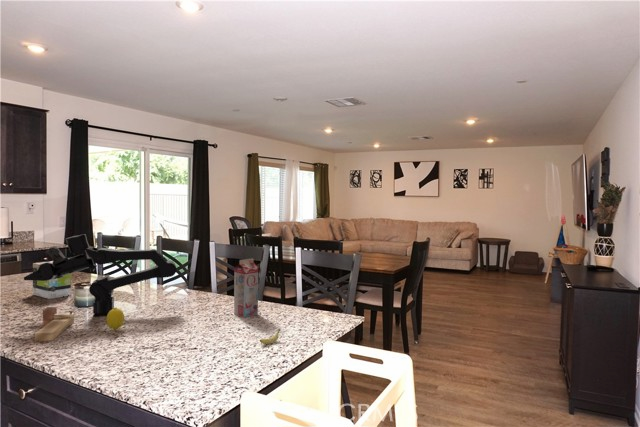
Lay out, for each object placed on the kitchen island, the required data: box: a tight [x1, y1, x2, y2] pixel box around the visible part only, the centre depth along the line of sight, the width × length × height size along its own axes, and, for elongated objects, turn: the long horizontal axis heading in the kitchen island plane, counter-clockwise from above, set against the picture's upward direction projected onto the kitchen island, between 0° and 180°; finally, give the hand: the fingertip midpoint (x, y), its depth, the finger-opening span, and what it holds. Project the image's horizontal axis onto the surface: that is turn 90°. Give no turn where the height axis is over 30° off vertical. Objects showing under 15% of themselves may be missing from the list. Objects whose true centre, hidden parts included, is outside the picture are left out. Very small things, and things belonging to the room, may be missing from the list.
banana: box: [259, 328, 281, 345], centre depth 138 cm, size 8×2×4 cm, turn 137°
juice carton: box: [233, 258, 259, 318], centre depth 169 cm, size 7×7×22 cm
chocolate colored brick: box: [42, 306, 75, 328], centre depth 152 cm, size 9×4×6 cm, turn 103°
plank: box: [34, 316, 75, 342], centre depth 145 cm, size 5×20×2 cm, turn 13°
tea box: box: [32, 260, 72, 300], centre depth 194 cm, size 15×10×15 cm, turn 58°
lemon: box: [106, 307, 125, 331], centre depth 147 cm, size 6×6×8 cm
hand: (28, 278), depth 157 cm, fingers open, 9 cm apart
